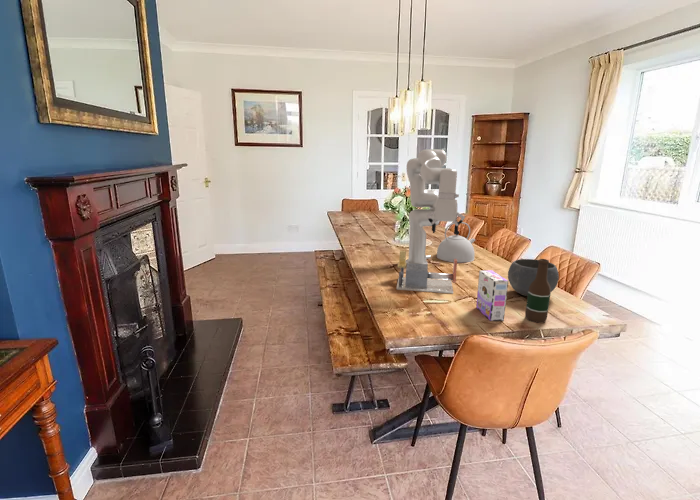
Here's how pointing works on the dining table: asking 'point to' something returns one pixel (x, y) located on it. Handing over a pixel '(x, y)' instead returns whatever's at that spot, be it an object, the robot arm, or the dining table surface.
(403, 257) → the plate
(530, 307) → the beer bottle
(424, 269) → the hitch block
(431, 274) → the lynch pin
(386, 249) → the dining table surface
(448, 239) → the kettle
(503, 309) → the candy box
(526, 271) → the bowl
